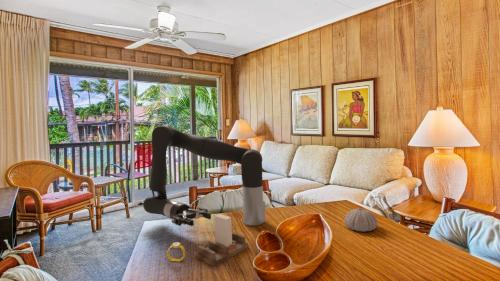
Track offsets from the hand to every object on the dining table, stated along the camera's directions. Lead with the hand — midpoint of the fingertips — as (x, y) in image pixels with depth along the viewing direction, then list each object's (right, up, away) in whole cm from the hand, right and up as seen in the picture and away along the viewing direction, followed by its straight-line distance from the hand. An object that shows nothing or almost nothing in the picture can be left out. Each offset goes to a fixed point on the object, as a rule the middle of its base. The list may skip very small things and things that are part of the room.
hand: (202, 219), depth 106 cm
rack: (+8, -10, -6) cm, 14 cm away
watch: (-7, -11, -11) cm, 17 cm away
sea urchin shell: (+66, -7, +13) cm, 67 cm away
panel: (+9, -8, -7) cm, 14 cm away
